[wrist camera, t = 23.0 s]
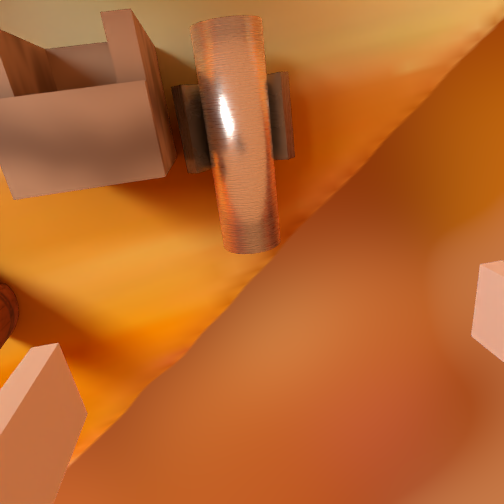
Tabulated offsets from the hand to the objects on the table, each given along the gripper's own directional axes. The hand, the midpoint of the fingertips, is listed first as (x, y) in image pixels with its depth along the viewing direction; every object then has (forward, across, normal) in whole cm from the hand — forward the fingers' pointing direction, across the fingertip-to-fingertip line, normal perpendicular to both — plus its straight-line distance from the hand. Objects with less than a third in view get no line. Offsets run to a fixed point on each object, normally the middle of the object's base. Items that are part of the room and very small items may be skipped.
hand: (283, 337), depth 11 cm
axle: (+25, +2, +4) cm, 25 cm away
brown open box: (+29, -9, +8) cm, 31 cm away
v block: (+29, +2, +6) cm, 29 cm away
